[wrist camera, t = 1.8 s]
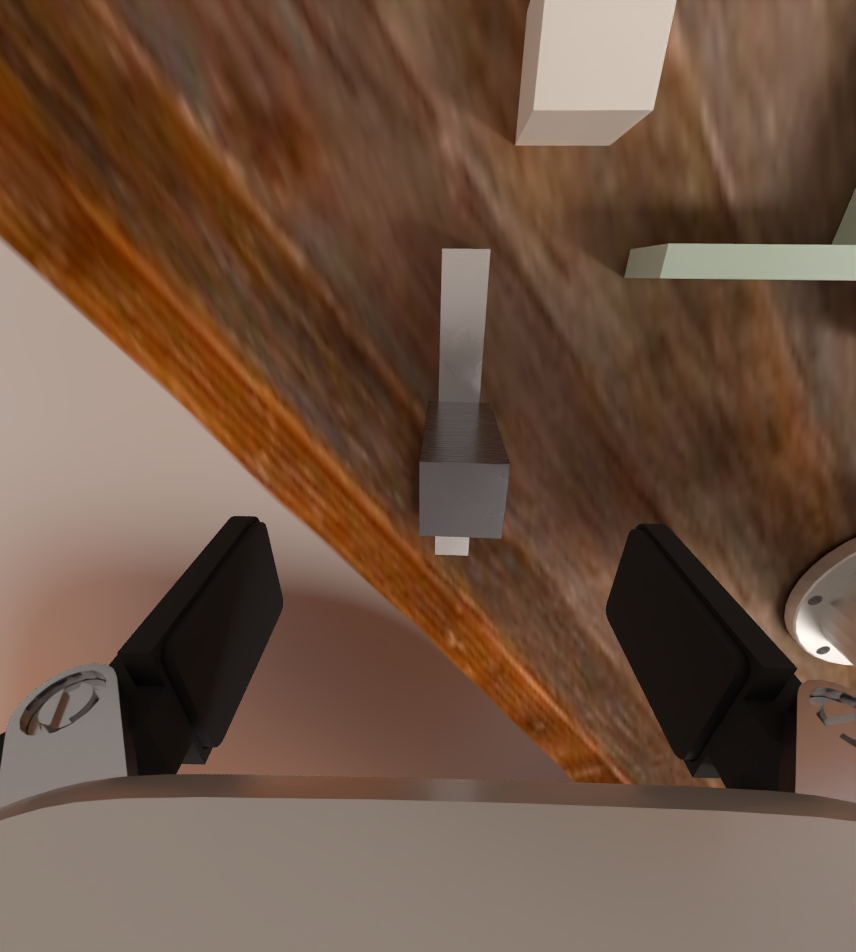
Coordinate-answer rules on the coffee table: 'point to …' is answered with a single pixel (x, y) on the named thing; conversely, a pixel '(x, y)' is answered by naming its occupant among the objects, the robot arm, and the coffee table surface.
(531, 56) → the cream block
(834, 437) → the coffee table surface
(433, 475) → the slider lever
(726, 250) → the block corral
